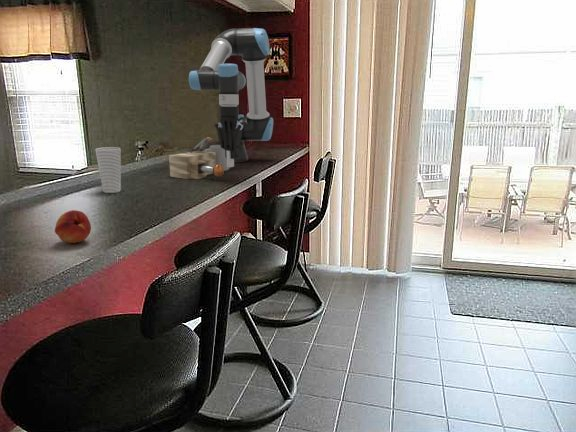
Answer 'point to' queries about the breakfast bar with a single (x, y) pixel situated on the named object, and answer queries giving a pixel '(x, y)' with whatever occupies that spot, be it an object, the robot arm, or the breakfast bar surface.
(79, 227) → the fruit
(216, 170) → the pin
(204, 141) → the plate
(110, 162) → the cup
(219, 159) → the mug
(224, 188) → the breakfast bar surface
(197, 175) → the block
